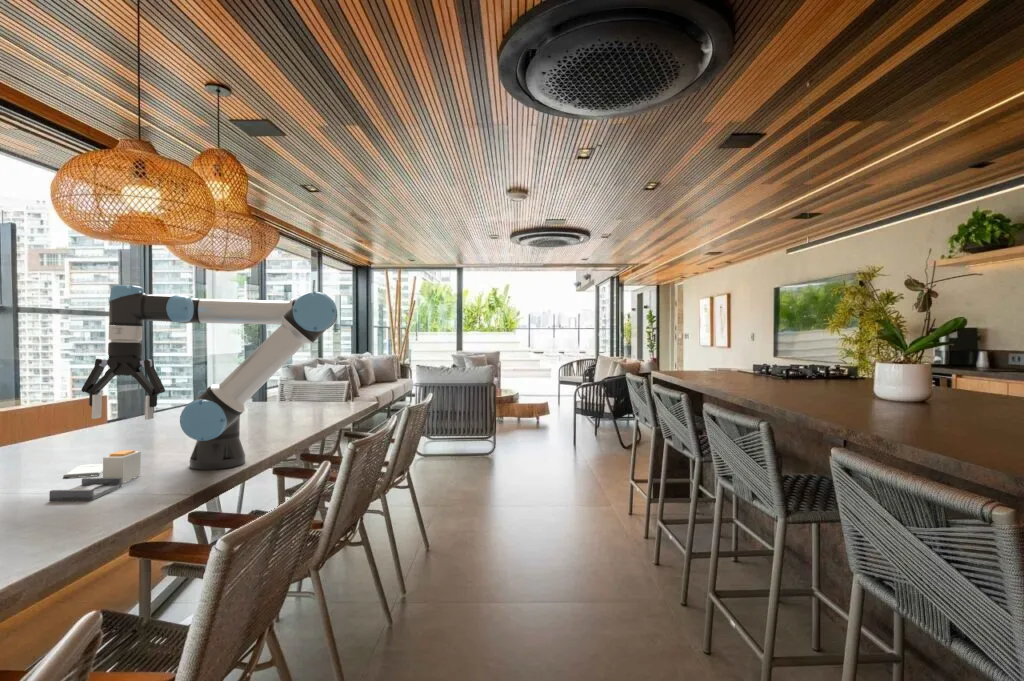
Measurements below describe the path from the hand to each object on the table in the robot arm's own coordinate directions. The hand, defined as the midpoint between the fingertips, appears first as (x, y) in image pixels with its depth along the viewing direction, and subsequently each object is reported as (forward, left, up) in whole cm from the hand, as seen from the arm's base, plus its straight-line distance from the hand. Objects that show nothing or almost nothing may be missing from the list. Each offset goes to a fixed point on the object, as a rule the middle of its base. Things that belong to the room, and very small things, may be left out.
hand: (122, 418), depth 146 cm
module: (0, 0, -17) cm, 17 cm away
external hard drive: (+14, -9, -18) cm, 24 cm away
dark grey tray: (0, +14, -17) cm, 22 cm away
